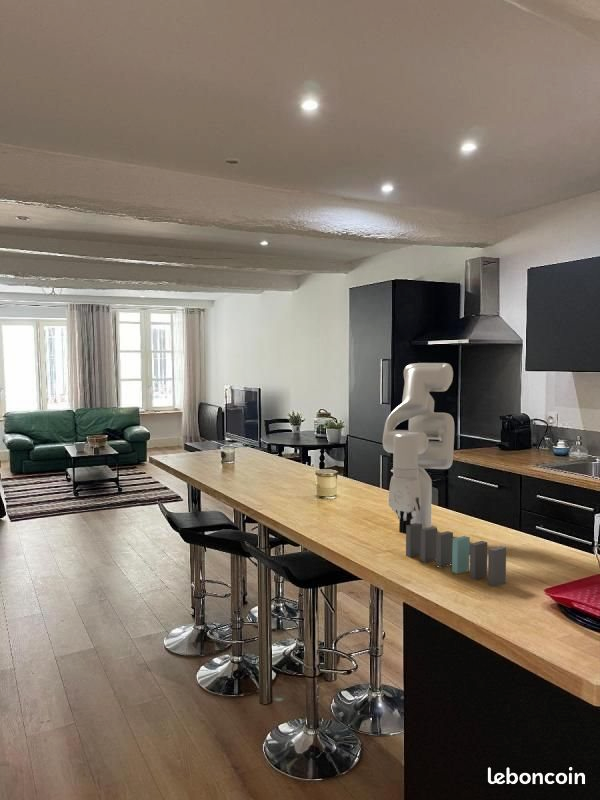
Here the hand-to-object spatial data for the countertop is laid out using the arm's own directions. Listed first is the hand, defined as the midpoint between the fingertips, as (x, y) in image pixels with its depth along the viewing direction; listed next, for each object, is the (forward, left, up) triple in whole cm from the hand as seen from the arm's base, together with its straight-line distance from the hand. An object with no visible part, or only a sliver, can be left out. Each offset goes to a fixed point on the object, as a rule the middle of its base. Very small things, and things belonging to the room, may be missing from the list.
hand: (404, 532), depth 187 cm
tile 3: (+7, +14, -6) cm, 17 cm away
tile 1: (+2, +3, -6) cm, 7 cm away
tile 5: (+12, +25, -6) cm, 28 cm away
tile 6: (+15, +30, -6) cm, 34 cm away
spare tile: (+10, +19, -6) cm, 23 cm away
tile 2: (+4, +9, -6) cm, 12 cm away
